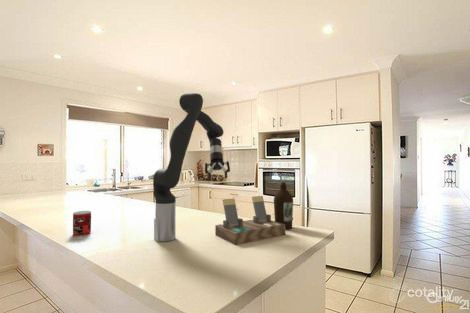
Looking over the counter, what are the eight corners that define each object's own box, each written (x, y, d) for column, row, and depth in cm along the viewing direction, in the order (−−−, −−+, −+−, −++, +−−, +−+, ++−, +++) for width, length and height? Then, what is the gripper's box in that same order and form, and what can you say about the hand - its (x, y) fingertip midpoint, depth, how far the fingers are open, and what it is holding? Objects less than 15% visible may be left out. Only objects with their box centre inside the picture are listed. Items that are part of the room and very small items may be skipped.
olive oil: (269, 226, 147) (269, 182, 147) (283, 224, 153) (283, 181, 153) (283, 231, 138) (283, 183, 139) (297, 228, 144) (297, 182, 144)
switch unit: (234, 244, 115) (234, 226, 115) (215, 235, 130) (215, 218, 131) (285, 234, 131) (285, 218, 131) (262, 227, 146) (262, 212, 147)
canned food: (69, 234, 132) (69, 212, 132) (84, 231, 139) (85, 210, 139) (78, 236, 128) (79, 214, 128) (94, 232, 135) (94, 211, 135)
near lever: (228, 226, 125) (224, 199, 129) (227, 227, 127) (222, 200, 131) (239, 224, 129) (234, 198, 133) (237, 225, 130) (232, 199, 134)
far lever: (258, 221, 135) (253, 196, 139) (256, 222, 136) (251, 197, 140) (267, 220, 138) (262, 195, 142) (266, 221, 140) (260, 196, 144)
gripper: (203, 152, 152) (204, 177, 143) (228, 150, 152) (230, 174, 144) (205, 158, 158) (206, 183, 150) (228, 156, 159) (230, 180, 150)
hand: (218, 179), depth 147 cm, fingers open, 8 cm apart
